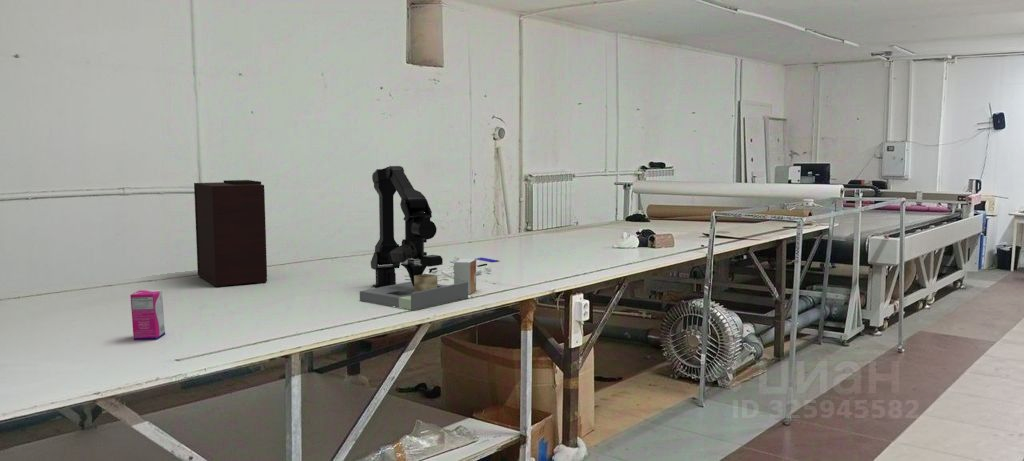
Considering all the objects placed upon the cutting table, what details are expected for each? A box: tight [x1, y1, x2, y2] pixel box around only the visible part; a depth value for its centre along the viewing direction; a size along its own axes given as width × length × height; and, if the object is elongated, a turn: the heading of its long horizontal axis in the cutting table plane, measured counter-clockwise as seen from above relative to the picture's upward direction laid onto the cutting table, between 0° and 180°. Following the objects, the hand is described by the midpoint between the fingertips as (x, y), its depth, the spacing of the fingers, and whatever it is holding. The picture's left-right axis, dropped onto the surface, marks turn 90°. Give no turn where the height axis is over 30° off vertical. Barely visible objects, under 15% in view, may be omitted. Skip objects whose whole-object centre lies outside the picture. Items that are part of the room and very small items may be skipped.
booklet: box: [450, 256, 499, 264], centre depth 316 cm, size 12×25×1 cm, turn 130°
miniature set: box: [403, 256, 492, 282], centre depth 282 cm, size 6×35×12 cm
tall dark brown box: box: [193, 179, 268, 288], centre depth 272 cm, size 19×27×35 cm
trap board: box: [359, 281, 469, 311], centre depth 239 cm, size 23×24×5 cm
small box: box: [453, 258, 477, 295], centre depth 251 cm, size 8×6×10 cm
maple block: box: [414, 273, 438, 292], centre depth 235 cm, size 5×5×5 cm
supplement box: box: [129, 289, 166, 341], centre depth 190 cm, size 6×6×12 cm
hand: (414, 286), depth 238 cm, fingers closed
